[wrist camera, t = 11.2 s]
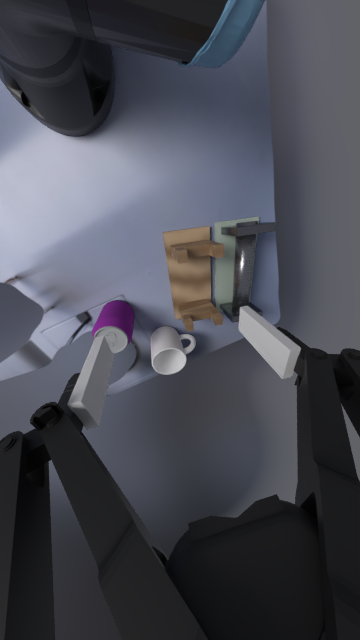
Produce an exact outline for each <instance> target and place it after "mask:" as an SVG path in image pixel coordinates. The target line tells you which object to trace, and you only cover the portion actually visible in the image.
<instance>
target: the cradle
mask: <svg viewBox="0 0 360 640" xmlns="http://www.w3.org/2000/svg"><path fill="white" fill-rule="evenodd" d="M163 237H164V244H165V251H166V258H167V264H168V271H169V278H170V285H171V292H172V298H173V305H174V312H175V318H176V320H177V319H182V321H183V323H184V326H185V328H186V331H192V330H194V328H193V321H197V320H202V319H207V318H211V319H212V321H213V322H214V323H215V325H221V324H223V316H222V315H221V314H220V312H219V311H218V310H217V309H216V308H215V307H214V305H213V304H212V303H211V266H210V256H213V257H215V258H219V257H224V244H221V243H217V242H213V241H210V226H206V227H199V228H191V229H184V230H177V231H170V232H163Z"/></svg>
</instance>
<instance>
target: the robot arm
mask: <svg viewBox="0 0 360 640" xmlns="http://www.w3.org/2000/svg"><path fill="white" fill-rule="evenodd" d="M264 1H265V0H0V79H1V80H2V82H3V83H4V85H5V86H6V87H7V89H8V90H9V91H10V92H11V94H12V95H13V96H14V97H15V98H16V100H17V101H18V102H19V103H20V104H21V105H22V106H23V107H24V108H25V109H26V110H27V111H28V112H29V113H30V114H31V115H33V116H34V117H35V118H36V119H37V120H38V121H40V122H41V123H42V124H44V125H45V126H47V127H48V128H50V129H52V130H54V131H56V132H58V133H61V134H65V135H69V136H83V135H86V134H89V133H91V132H93V131H95V130H96V129H97V128H99V127H100V126H101V124H102V123H103V122H104V120H105V119H106V117H107V115H108V113H109V111H110V108H111V105H112V101H113V96H114V86H115V75H114V64H113V58H112V52H111V47H110V45H111V46H115V47H119V48H123V49H128V50H132V51H136V52H140V53H144V54H148V55H153V56H157V57H161V58H165V59H169V60H173V61H177V62H178V64H179V65H180V66H182V67H185V68H187V67H190V66H193V65H196V66H202V67H209V68H217V67H220V66H221V65H222V64H224V63H226V62H227V61H228V60H230V59H231V58H232V57H233V56H234V54H235V53H236V52H237V51H238V49H239V48H240V46H241V45H242V43H243V42H244V40H245V38H246V37H247V35H248V33H249V32H250V30H251V28H252V26H253V24H254V22H255V20H256V18H257V16H258V14H259V12H260V10H261V8H262V5H263V3H264ZM239 331H240V332H241V333H242V334H243V335H244V337H245V338H246V339H247V340H248V341H249V342H250V343H251V344H252V346H253V347H254V348H255V349H256V350H257V351H258V352H259V353H260V354H261V356H262V357H263V358H264V359H265V360H266V361H267V362H268V363H269V365H270V366H271V367H272V368H273V369H274V370H275V371H276V372H277V374H278V375H279V376H280V377H281V378H282V379H285V378H288V377H292V375H293V372H294V371H295V372H296V373H297V374H298V376H297V379H296V382H295V385H297V442H298V443H297V446H298V447H297V448H298V484H297V490H296V497H295V504H292V503H290V502H287V501H283V500H279V498H278V496H277V494H276V495H273V496H270V497H267V498H264V499H261V500H258V501H256V502H254V503H253V504H252V505H251V506H250V507H249V508H248V509H246V510H245V511H244V512H243V513H242V514H241V515H240V516H239V517H237V518H229V517H217V516H209V517H206V518H203V519H200V520H197V521H194V522H191V523H189V524H188V525H189V529H188V530H187V531H186V532H185V533H184V534H183V535H182V536H181V537H180V539H179V540H178V542H177V543H176V545H175V546H174V548H173V551H172V552H171V554H170V557H169V559H168V558H167V556H166V555H165V553H164V552H163V550H162V549H161V547H160V546H159V544H158V543H157V542H156V540H155V539H154V538H153V536H152V535H151V534H150V532H149V531H148V529H147V528H146V527H145V525H144V524H143V522H142V521H141V519H140V518H139V516H138V515H137V513H136V512H135V510H134V509H133V508H132V506H131V504H130V503H129V501H128V500H127V498H126V497H125V495H124V494H123V492H122V491H121V489H120V488H119V487H118V485H117V483H116V482H115V480H114V479H113V477H112V476H111V474H110V473H109V471H108V470H107V468H106V467H105V465H104V464H103V462H102V461H101V460H100V458H99V457H98V455H97V454H96V452H95V451H94V449H93V448H92V446H91V445H90V443H89V442H88V440H87V439H86V437H85V436H84V434H83V433H82V432H81V431H82V428H83V425H84V426H85V427H86V429H91V428H95V427H99V425H100V420H101V415H102V411H103V406H104V402H105V397H106V393H107V388H108V384H109V379H110V374H111V370H112V365H113V360H114V356H113V354H112V352H111V349H110V347H109V345H108V343H107V341H106V338H105V336H99V337H95V340H94V342H93V345H92V347H91V349H90V352H89V354H88V356H87V359H86V362H85V364H84V366H83V368H82V371H81V373H77V374H74V375H73V376H72V377H71V379H70V380H69V381H68V384H67V385H66V388H65V390H64V393H63V394H62V396H61V398H60V400H59V402H58V404H57V403H56V402H50V403H46V404H45V405H43V406H41V407H40V408H39V409H38V410H36V412H35V413H34V414H33V415H32V417H31V419H30V423H31V424H32V425H33V426H34V427H35V428H36V429H33V430H31V431H30V432H28V433H26V434H23V433H22V432H20V431H16V432H13V433H11V434H8V435H7V436H6V437H4V438H3V439H2V440H1V441H0V640H55V624H54V598H53V571H52V544H51V517H50V492H49V491H50V490H49V463H48V461H50V460H52V462H53V464H54V466H55V469H56V471H57V473H58V475H59V478H60V480H61V482H62V485H63V487H64V489H65V491H66V493H67V496H68V499H69V501H70V503H71V505H72V508H73V510H74V512H75V515H76V517H77V519H78V521H79V524H80V526H81V528H82V531H83V533H84V535H85V538H86V540H87V542H88V544H89V547H90V549H91V551H92V554H93V556H94V558H95V560H96V563H97V566H98V570H99V573H98V579H99V583H100V586H101V589H102V592H103V595H104V597H105V599H106V602H107V604H108V607H109V609H110V611H111V614H112V616H113V619H114V621H115V623H116V626H117V628H118V631H119V633H120V635H121V638H122V640H360V481H359V479H358V477H357V473H356V469H355V464H354V460H353V455H352V451H351V447H350V442H349V438H348V433H347V429H346V424H345V420H344V415H343V411H342V406H343V407H344V409H345V411H346V413H347V415H348V417H349V418H350V420H351V422H352V424H353V426H354V427H355V430H356V431H357V433H358V435H359V437H360V351H359V350H355V349H350V348H349V349H343V350H342V352H341V354H327V353H326V352H324V351H322V350H320V349H314V348H309V347H308V346H307V345H305V344H304V343H303V342H301V341H300V340H299V339H297V338H295V336H293V335H291V333H289V332H288V331H287V330H285V329H282V328H280V327H278V328H275V327H274V326H273V325H271V324H270V323H269V322H268V321H266V320H265V319H264V318H263V317H261V316H260V315H259V314H257V313H256V312H255V311H254V310H252V309H251V308H250V307H249V306H243V307H240V315H239ZM341 404H342V406H341Z"/></svg>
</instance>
